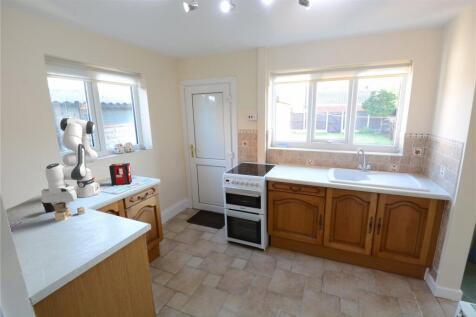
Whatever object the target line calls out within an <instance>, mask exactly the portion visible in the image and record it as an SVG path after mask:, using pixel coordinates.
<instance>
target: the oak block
mask: <svg viewBox="0 0 476 317" xmlns="http://www.w3.org/2000/svg"><path fill="white" fill-rule="evenodd" d="M53 214H54V218H55V220H63V221H67V220H68V219H69V217H70V216H71V215H72V213H71V209H70V208H68V209H66V210H65V211H63V212H54V213H53ZM71 217H72V216H71ZM71 217H70V218H71ZM67 218H68V219H67ZM66 219H67V220H66Z"/></svg>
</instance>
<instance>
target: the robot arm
mask: <svg viewBox="0 0 476 317" xmlns="http://www.w3.org/2000/svg"><path fill="white" fill-rule="evenodd" d="M59 127H60V130H61V131H63V135H62V140H61V143H62V145H63V147H65V148H66V149H68V150H69V151H73V152H70V153H66V154H64V155H63V156H62V163H63V164H64V165H62V164H61V163H58V162H57V163H52V164H51V163H50V164H48V165H47V166H46V167H45V178H46V181H47V187H48V188H43V189H41V203H42V202H44V203H52V205H53V206H54V205H55V204H56V202H57V203H58V202H65V203H66V205H64V208H68V209H69V205H70V202H75V201H76V200H78V198H88V197H89V198H90V197H92V196H95V195H96V196H97V195H99V194H100V193H101V192H102V191H103V190H104V188H103V187H101V186H100V185H101V184H99V183H98V182H96V181H95V180H96V177H93V176H92V175H93V174H92V170H91V168H88V167H86V164H90V163H93V162H96V161H97V160H98V159H99V155H98V153H97V151H96V150H94V149H92V148H91V145H90V135H92V134H93V133H94V132H95V130H96V126H95V123H94V122H93V121H91V120H86V119H80V118H68V117H63V118H62V119H61V120H60V123H59ZM70 180H71V181H72V180H73V181H76V185H77V186H76V190H75V186H74V185H71V184H67V183H66V182H65V181H70Z"/></svg>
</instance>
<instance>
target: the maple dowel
mask: <svg viewBox="0 0 476 317" xmlns="http://www.w3.org/2000/svg"><path fill="white" fill-rule="evenodd" d="M76 211H77V215H78V216H80V215H84V214H85V212H86V211H85V207H84V206H80V207H78V208H76Z"/></svg>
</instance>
